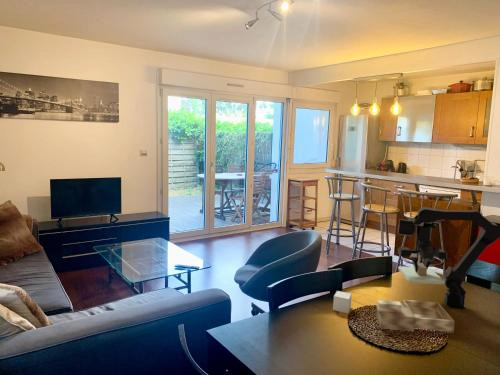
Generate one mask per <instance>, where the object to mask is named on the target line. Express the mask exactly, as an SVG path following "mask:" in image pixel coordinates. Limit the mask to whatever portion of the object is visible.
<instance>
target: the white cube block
mask: <svg viewBox="0 0 500 375" xmlns="http://www.w3.org/2000/svg"><path fill="white" fill-rule="evenodd" d="M332 304H333V305H332V310H333V311H337V312H339V313H345V314H349V312H350V310H351V307H352V293H350V292H346V291H345V292H344V291H340V290H336V292H335V294H334V295H333V303H332Z"/></svg>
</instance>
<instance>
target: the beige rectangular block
mask: <svg viewBox="0 0 500 375" xmlns="http://www.w3.org/2000/svg"><path fill="white" fill-rule="evenodd" d="M401 307H402V302H400V301H397V300H396V301H395V300H383V299H382V300H381V299H376V310H377V309H378V311H383V312H396V313H401Z"/></svg>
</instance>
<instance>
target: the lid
mask: <svg viewBox="0 0 500 375" xmlns="http://www.w3.org/2000/svg"><path fill="white" fill-rule="evenodd" d="M398 270H399V271H400V272H401V274H402V276H403V277H404V278H405V279H406V280H407V282H408V283H410V284H424V285H437V286H438V285H445V283H444V280H443V278H442V277H440V276H439V274H437V273H436V271H434V269H433V268H431V267H428V269H427V268H426V267H425V266H424V263H419V262H418V270H417V272H416V271H415V268H414V266H403V265H401V266H398Z"/></svg>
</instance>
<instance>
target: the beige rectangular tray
mask: <svg viewBox="0 0 500 375" xmlns="http://www.w3.org/2000/svg"><path fill="white" fill-rule="evenodd" d="M401 305H402V306H401V313H396V312H383V311H378V309H377V308H376V314H375V315H376V316H375V320H376V319H377V320H376V323H377V322H378V323H377V324H379V325H378V327H379V326H380V327H379V329H380V328H382V329H390V330H389V331H393V330H400V331H399V332H405V331H414V332H415V330H414V328H421V329H430V330H439V331H445V332H444V333H446V332H447V333H449V334H454V330H455V324H456V323H455V319H453V317H452V316H451V315H450V314H449V313H448V312H447V310H446V309H445V308H444V307H443V306H442V305H441V304H440V303H439V302H437V301H435V302H434V301H426V300H425V301H424V300H421V301H420V300H412V299H411V300H410V299H402V300H401ZM382 329H381V330H382Z"/></svg>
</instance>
